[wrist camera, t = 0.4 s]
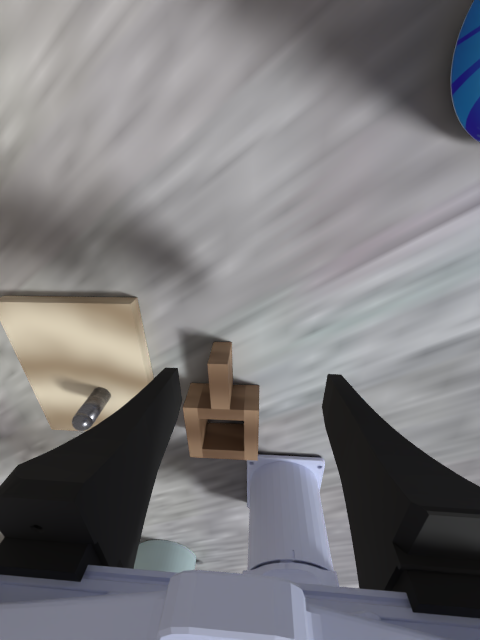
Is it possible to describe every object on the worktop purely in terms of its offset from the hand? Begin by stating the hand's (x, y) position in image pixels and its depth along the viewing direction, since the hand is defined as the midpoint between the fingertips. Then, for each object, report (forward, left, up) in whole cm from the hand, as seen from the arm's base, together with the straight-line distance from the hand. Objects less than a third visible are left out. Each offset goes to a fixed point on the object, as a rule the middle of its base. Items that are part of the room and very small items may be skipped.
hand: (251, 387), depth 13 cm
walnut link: (-9, +3, -9) cm, 13 cm away
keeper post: (-8, +14, -8) cm, 18 cm away
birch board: (-6, +15, -9) cm, 18 cm away
